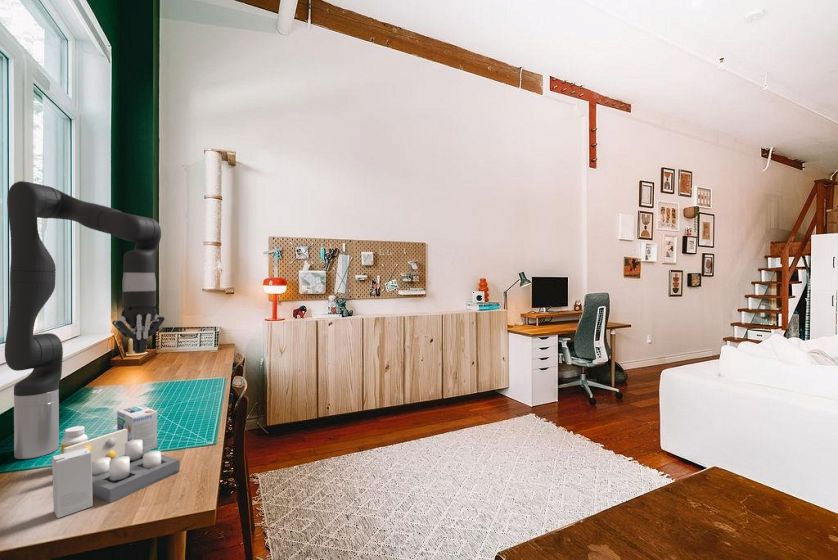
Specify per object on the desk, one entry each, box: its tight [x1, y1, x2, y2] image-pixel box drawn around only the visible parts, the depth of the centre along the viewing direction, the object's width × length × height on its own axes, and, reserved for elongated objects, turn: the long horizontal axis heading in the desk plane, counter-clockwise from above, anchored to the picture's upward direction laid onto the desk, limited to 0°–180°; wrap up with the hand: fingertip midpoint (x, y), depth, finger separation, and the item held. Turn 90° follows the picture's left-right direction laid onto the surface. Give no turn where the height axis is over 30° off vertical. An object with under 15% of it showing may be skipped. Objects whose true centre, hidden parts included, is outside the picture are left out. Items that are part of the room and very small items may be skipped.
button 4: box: [143, 450, 162, 469], centre depth 102 cm, size 4×4×4 cm
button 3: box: [125, 440, 143, 461], centre depth 106 cm, size 4×4×4 cm
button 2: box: [109, 456, 130, 481], centre depth 96 cm, size 4×4×4 cm
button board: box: [92, 450, 181, 504], centre depth 101 cm, size 16×16×3 cm
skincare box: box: [51, 448, 94, 519], centre depth 87 cm, size 6×4×12 cm
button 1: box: [92, 457, 111, 477], centre depth 99 cm, size 4×4×4 cm
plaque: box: [64, 429, 128, 461], centre depth 106 cm, size 1×14×8 cm, turn 155°
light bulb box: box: [116, 404, 158, 451], centre depth 119 cm, size 11×7×11 cm, turn 55°
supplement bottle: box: [60, 425, 89, 454], centre depth 108 cm, size 5×5×10 cm
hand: (139, 352), depth 112 cm, fingers closed
